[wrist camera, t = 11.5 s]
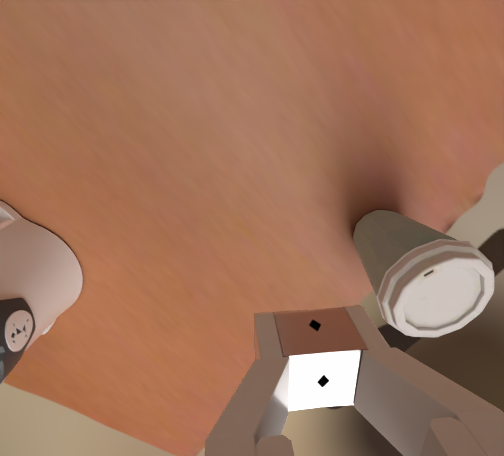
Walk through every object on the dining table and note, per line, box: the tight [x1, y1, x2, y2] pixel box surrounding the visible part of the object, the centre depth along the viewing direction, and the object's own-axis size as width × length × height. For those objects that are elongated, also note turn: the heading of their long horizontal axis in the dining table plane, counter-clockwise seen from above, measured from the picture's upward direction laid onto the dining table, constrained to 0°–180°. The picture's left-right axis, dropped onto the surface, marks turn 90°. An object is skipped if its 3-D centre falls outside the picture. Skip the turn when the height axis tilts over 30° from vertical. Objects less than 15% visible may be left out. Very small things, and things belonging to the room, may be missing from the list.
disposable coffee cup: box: [353, 210, 494, 337], centre depth 34 cm, size 11×11×15 cm
